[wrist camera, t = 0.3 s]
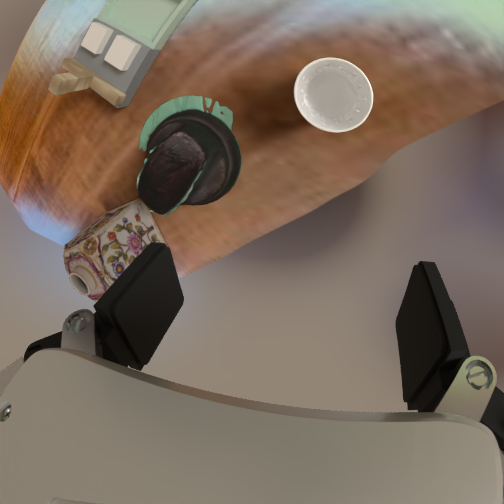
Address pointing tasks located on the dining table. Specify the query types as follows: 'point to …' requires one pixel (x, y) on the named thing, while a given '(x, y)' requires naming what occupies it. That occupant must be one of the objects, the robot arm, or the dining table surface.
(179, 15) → the tray
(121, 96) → the tan bar
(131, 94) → the board
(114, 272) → the decorative jar
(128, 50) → the tile
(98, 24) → the tile
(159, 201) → the dark round cap
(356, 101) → the white cup
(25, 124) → the dining table surface
